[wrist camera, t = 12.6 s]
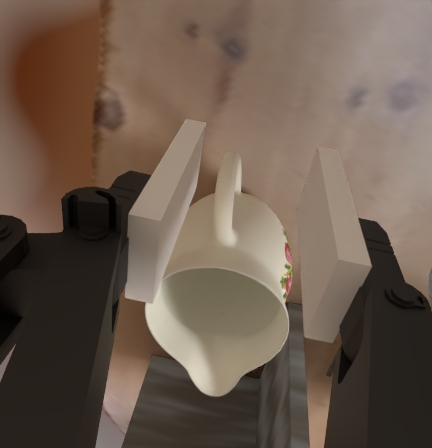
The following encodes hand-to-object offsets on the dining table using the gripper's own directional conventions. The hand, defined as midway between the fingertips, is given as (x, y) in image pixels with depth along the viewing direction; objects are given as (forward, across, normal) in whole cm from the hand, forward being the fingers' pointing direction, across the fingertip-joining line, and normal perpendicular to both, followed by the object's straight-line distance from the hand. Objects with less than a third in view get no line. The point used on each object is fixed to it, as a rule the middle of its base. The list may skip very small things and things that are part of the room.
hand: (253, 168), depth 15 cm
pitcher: (+19, 0, -14) cm, 23 cm away
